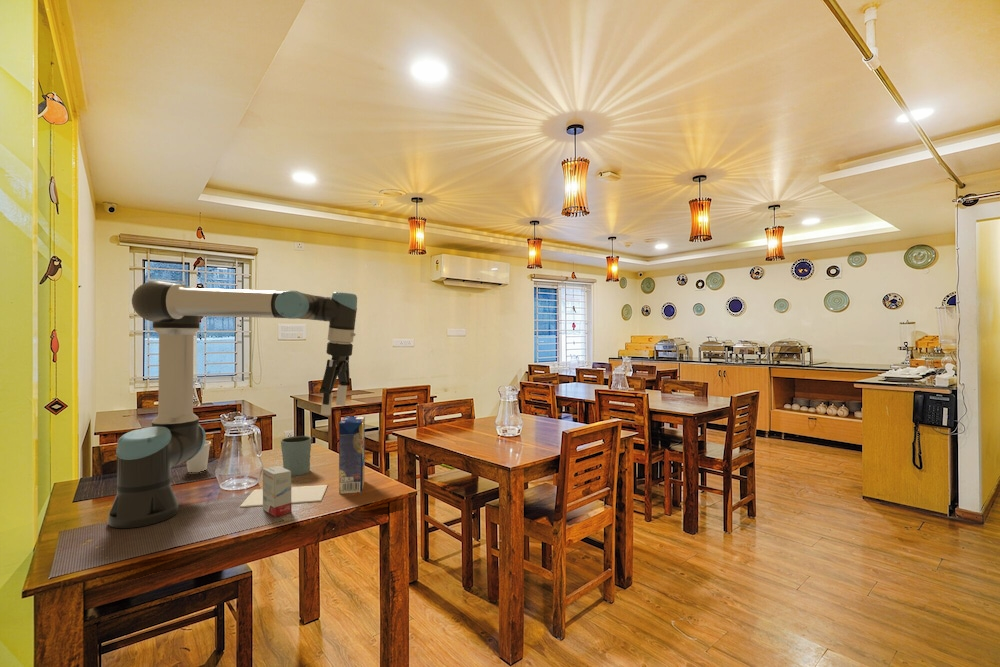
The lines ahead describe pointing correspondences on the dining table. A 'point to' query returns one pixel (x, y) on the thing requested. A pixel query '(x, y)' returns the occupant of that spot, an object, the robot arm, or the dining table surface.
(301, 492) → the mat
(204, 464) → the dixie cup
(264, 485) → the ink box
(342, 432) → the beverage box
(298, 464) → the green tapered cup
